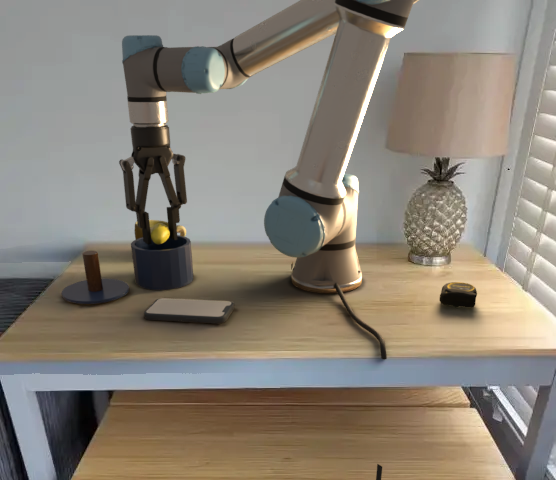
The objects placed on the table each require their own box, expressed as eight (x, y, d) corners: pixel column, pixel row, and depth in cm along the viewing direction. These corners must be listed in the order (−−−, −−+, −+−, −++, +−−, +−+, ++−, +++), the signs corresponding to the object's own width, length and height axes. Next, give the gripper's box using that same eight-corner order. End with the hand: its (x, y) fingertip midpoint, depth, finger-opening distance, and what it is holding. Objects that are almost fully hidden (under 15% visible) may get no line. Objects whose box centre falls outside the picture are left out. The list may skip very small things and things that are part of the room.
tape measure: (437, 308, 120) (439, 290, 118) (442, 296, 125) (444, 279, 124) (473, 313, 118) (476, 295, 116) (476, 300, 123) (479, 283, 122)
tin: (203, 282, 134) (200, 244, 130) (149, 294, 128) (144, 254, 124) (178, 267, 143) (175, 231, 139) (127, 277, 137) (122, 240, 133)
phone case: (142, 321, 116) (224, 326, 113) (141, 313, 115) (223, 317, 112) (159, 304, 123) (236, 308, 120) (158, 296, 123) (235, 300, 120)
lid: (139, 297, 126) (134, 255, 122) (73, 312, 119) (66, 267, 115) (116, 279, 136) (110, 239, 132) (54, 291, 129) (46, 250, 125)
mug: (126, 256, 144) (133, 213, 143) (134, 256, 154) (140, 217, 153) (178, 265, 145) (185, 223, 144) (182, 265, 155) (189, 226, 154)
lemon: (147, 246, 128) (145, 228, 126) (154, 236, 135) (152, 218, 133) (167, 247, 128) (166, 228, 126) (173, 236, 135) (172, 218, 133)
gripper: (183, 120, 127) (191, 230, 138) (97, 125, 119) (113, 243, 130) (199, 123, 122) (206, 238, 133) (111, 129, 113) (126, 252, 124)
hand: (160, 240), depth 131 cm, fingers closed on lemon, 5 cm apart
